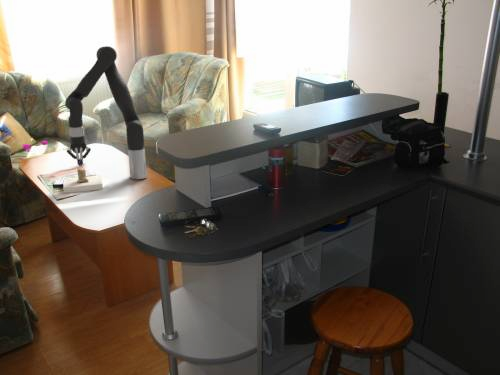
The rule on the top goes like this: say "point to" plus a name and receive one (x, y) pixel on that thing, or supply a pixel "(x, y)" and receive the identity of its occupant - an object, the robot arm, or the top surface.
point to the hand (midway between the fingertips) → (80, 165)
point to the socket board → (82, 184)
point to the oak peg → (82, 175)
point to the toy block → (30, 147)
